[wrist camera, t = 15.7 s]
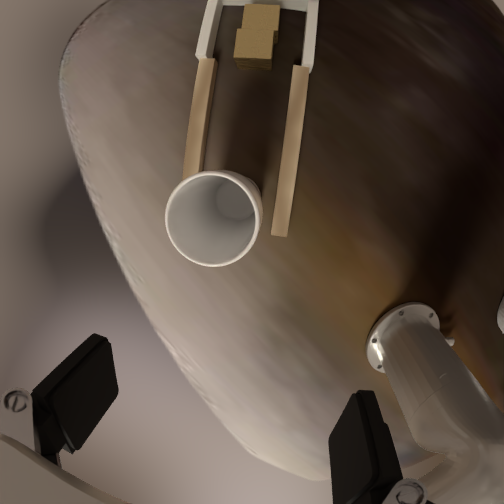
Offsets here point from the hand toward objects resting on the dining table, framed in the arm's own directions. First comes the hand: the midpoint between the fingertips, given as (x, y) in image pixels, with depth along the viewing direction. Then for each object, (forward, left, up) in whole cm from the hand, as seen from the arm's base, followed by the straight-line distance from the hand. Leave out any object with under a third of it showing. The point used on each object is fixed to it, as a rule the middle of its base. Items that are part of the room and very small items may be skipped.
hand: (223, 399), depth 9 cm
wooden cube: (+3, -22, -26) cm, 34 cm away
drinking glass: (+3, -4, -26) cm, 27 cm away
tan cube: (+3, -26, -26) cm, 37 cm away
